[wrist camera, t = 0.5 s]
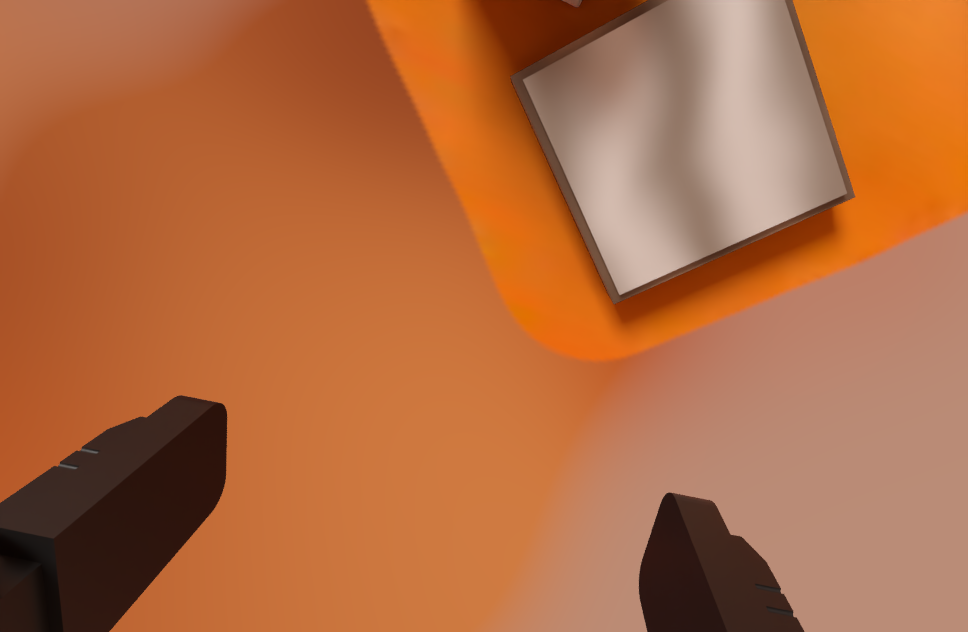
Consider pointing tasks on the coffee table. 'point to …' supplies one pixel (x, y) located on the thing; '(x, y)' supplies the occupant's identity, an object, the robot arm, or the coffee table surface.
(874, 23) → the coffee table surface
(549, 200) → the coffee table surface
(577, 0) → the small box
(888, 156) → the coffee table surface
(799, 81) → the tray
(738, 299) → the coffee table surface
